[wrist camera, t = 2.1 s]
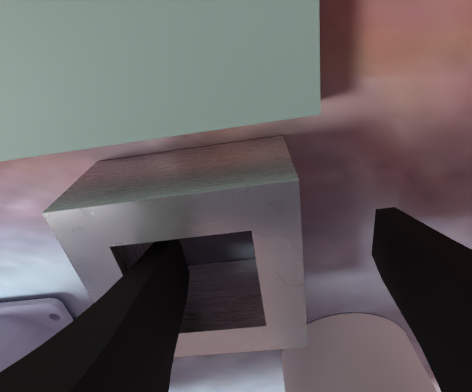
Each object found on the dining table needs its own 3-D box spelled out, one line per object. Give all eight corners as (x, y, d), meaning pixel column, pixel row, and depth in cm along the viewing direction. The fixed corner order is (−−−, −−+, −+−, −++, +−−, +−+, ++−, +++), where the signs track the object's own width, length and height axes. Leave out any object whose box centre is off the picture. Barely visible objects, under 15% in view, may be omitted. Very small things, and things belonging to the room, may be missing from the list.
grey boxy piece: (293, 277, 14) (308, 347, 11) (151, 291, 15) (127, 360, 12) (282, 135, 11) (299, 180, 7) (96, 161, 11) (42, 213, 8)
